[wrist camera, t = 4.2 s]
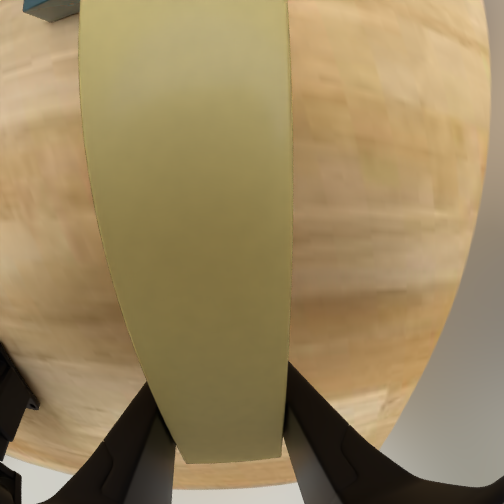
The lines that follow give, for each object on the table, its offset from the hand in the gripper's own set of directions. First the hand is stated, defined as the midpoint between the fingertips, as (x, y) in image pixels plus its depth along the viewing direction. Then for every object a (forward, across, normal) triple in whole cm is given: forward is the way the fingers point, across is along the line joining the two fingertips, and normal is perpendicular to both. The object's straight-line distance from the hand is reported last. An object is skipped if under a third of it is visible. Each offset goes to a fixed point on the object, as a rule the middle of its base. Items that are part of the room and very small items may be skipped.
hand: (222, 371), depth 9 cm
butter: (+1, 0, -4) cm, 5 cm away
